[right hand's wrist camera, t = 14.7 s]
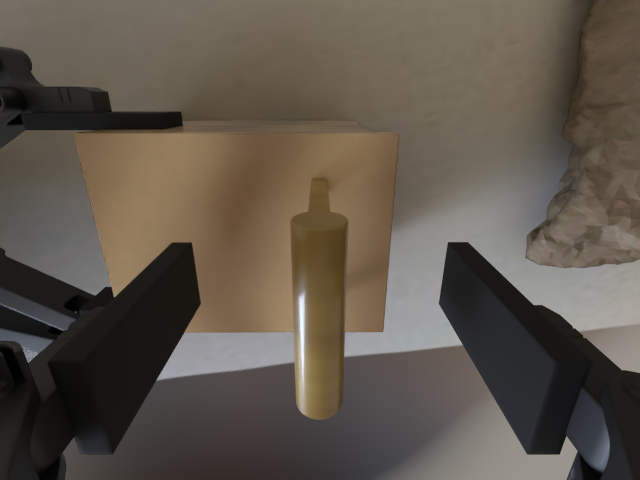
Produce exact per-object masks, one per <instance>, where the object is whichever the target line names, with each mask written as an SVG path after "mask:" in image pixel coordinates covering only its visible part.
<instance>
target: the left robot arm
mask: <svg viewBox="0 0 640 480" xmlns="http://www.w3.org/2000/svg"><path fill="white" fill-rule="evenodd" d="M31 70H32V63H31V60H30V58H29V57H28V55H27V54H26V53H24V52H23V51H21V50H18V49H12V48H6V47H0V149H1V148H2V147H3V146H5V145H6V144H7V143H9V142H10V141H11V140H13V139H14V138H16V137H17V136H18V135H20V134H21V133H22V132H24V131H25V130H163V129H168V128H174V127H179V126H183V122H182V115H181V112H112V110H111V105H110V100H109V96H108V92H106V91H104V90H101V89H99V88H92V87H46V86H43V85H42V84H40V83H39V82H38V81H37V80H36V79H35V78H34V76H33V75H32V73H31ZM113 298H114V295H113V291H112V287H105V288H104V289H103V290H102V291H101V292H99V293H98V294H97V295H96V296H94V295H92V294H90V293H87V292H85V291H83V290H81V289H78V288H76V287H74V286H72V285H69V284H67V283H65V282H63V281H60V280H58V279H56V278H54V277H51V276H49V275H47V274H45V273H42V272H40V271H38V270H36V269H33V268H31V267H29V266H27V265H24V264H22V263H20V262H18V261H15V260H13V259H11V258H9V257H7V256H5V250H4V249H2V248H0V341H15V342H17V343H19V344H20V345H21V347H22V349H27V350H31V351H36V352H41V351H42V350H44V349H45V348H46V347H47V346H48V345H49V344H50V343H51V342H52V341H54V340H57V337H58V336H59V335H60V334H61V333H62V332H64V331H65V330H68V327H69V326H70V325H71V324H72V323H74V322H75V321H76V320H77V319H78V318H79V317H80V316H82V315H84V314H85V313H87V312H89V311H91V310H93V309H94V308H96V307H98V306H106V305H107V304H108V303H109V302H110V301H111V300H112V299H113ZM76 311H77V312H76ZM75 312H76V313H75Z"/></svg>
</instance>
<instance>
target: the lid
mask: <svg viewBox="0 0 640 480" xmlns="http://www.w3.org/2000/svg"><path fill="white" fill-rule="evenodd" d="M74 139H75V143H76V147H77V151H78V155H79V159H80V163H81V167H82V171H83V175H84V179H85V183H86V187H87V191H88V195H89V199H90V203H91V207H92V211H93V215H94V219H95V223H96V227H97V231H98V235H99V239H100V243H101V247H102V251H103V255H104V259H105V263H106V267H107V271H108V275H109V279H110V283H111V287H112V291H113V295H114V297H115V296H117V295H118V294H119V293H120V292H121V291H122V290H123V289H124V288H125V287H126V286H127V285H128V284H129V283H130V282H131V281H132V280H133V279H134V278H135V277H136V276H137V275H138V274H140V273H141V272H142V271H143V270H144V269H145V268H146V267H147V266H148V265H149V264H150V263H151V262H152V261H153V260H154V259H155V258H156V257H157V256H158V255H159V254H160V253H162V252H163V251H164V250H165V249H166V248H167V247H168V246H169V245H170V244H171V243H172V242H192V246H193V253H194V259H195V266H196V273H197V280H198V287H199V293H200V300H201V305H200V306H199V308H198V310H197V312H196V313H195V315H194V317H193V318H192V320H191V322H190V323H189V325H188V327H187V329H186V330H185V332H294V354H295V385H296V404H297V407H298V408H299V410H300V411H301V413H303V414H304V415H305V416H307V417H309V418H312V419H319V420H320V419H327V418H329V417H332V416H334V415H335V414H336V413H337V412H338V411H339V410H340V408H341V406H342V402H343V375H344V345H345V332H383V328H384V316H385V303H386V291H387V279H388V267H389V255H390V242H391V230H392V218H393V206H394V194H395V181H396V169H397V157H398V145H399V134H398V133H395V132H80V133H74Z"/></svg>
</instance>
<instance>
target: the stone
mask: <svg viewBox="0 0 640 480" xmlns="http://www.w3.org/2000/svg"><path fill="white" fill-rule="evenodd" d="M579 48H580V54H579V57H578V62H579V66H580V71H579V77H578V82H577V85H576V87H575V89H574V92H573V93H572V95H571V107H570V111H569V116H568V119H567V120H566V122H565V124H564V127H563V132H562V136H563V139H565V140H567V141H568V142H570V143H572V144H573V146H574V148H573V150H572V151H571V153H570V155H569V165H570V167H569V168H568V170H567V171H566V172H565V174H564V175H563V177H562V178H561V180H560V183H559V190H560V191H559V192H558V193H557V194H556V195H555V196H554V197H553V199H552V201H551V202H550V204H549V206H548V207H547V220H545V221H544V222H543V223H542V224H541V225H539V226H538V227H537V228H535V229H534V230H532V231H531V232H530V233H529V234H528V235H527V249H526V257H525V258H527V259H529V260H531V261H533V262H535V263H537V264H539V265H546V266H554V267H561V268H570V267H576V268H586V267H594V266H600V265H603V264H617V265H618V264H622V263H628V262H634V261H636V260H638V259H640V0H594V2H593V5H592V7H591V8H590V11H589V15H588V18H587V19H586V21H585V23H584V25H583V26H582V28H581V30H580V31H579Z"/></svg>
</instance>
